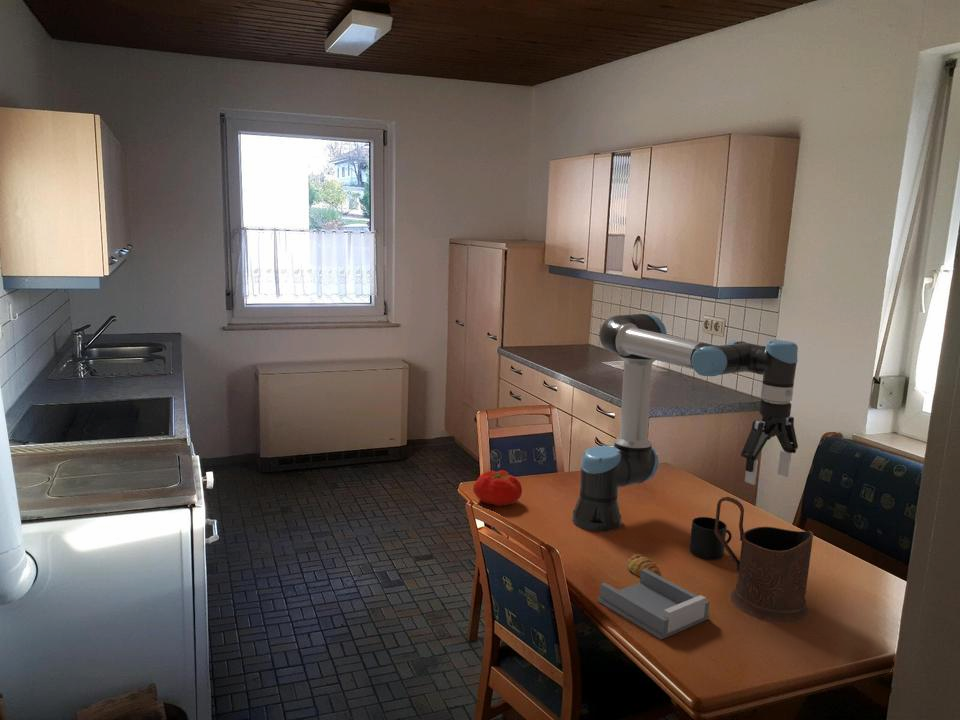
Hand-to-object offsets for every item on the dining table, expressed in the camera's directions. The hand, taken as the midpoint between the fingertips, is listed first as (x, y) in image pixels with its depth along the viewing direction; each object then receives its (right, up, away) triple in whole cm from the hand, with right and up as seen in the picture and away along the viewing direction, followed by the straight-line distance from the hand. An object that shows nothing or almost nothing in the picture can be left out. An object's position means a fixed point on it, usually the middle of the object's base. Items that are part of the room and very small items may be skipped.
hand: (766, 479), depth 194 cm
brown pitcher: (-6, -29, -9) cm, 31 cm away
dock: (-34, -29, -16) cm, 47 cm away
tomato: (-70, -16, +49) cm, 87 cm away
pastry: (-31, -26, +4) cm, 41 cm away
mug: (-9, -24, +18) cm, 31 cm away
